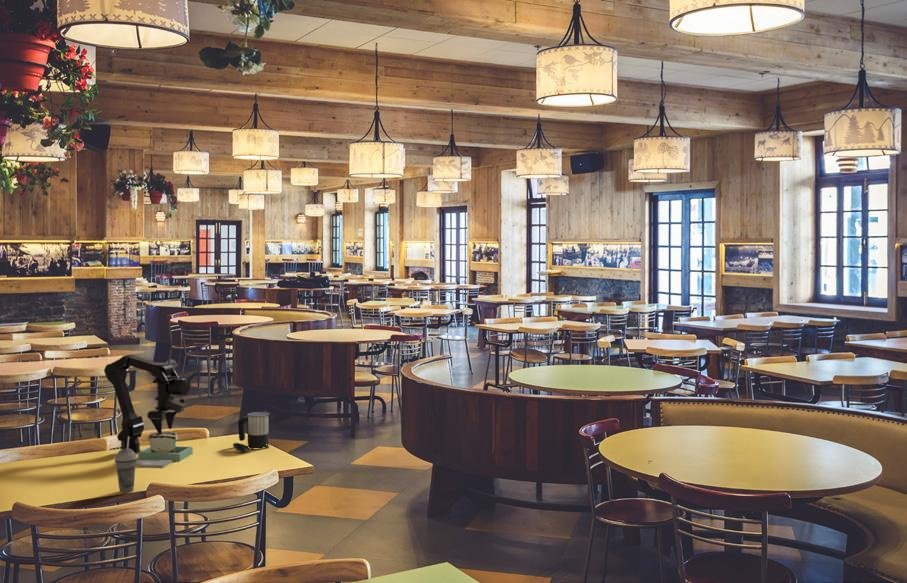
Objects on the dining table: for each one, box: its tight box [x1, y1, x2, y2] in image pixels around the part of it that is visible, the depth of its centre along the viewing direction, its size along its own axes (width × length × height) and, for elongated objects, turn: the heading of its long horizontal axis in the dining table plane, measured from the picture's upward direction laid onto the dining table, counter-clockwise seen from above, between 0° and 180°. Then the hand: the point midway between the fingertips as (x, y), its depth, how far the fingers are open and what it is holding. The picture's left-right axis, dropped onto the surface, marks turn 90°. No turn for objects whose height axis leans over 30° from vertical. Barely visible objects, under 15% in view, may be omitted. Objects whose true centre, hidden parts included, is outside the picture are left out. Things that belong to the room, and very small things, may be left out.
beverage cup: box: [114, 436, 138, 494], centre depth 289 cm, size 7×7×20 cm
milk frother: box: [232, 411, 270, 453], centre depth 350 cm, size 14×16×15 cm
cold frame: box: [137, 445, 194, 462], centre depth 338 cm, size 18×12×3 cm, turn 83°
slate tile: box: [135, 459, 173, 468], centre depth 326 cm, size 14×8×1 cm, turn 83°
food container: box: [147, 431, 178, 453], centre depth 338 cm, size 12×6×10 cm, turn 84°
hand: (165, 431), depth 338 cm, fingers open, 9 cm apart
